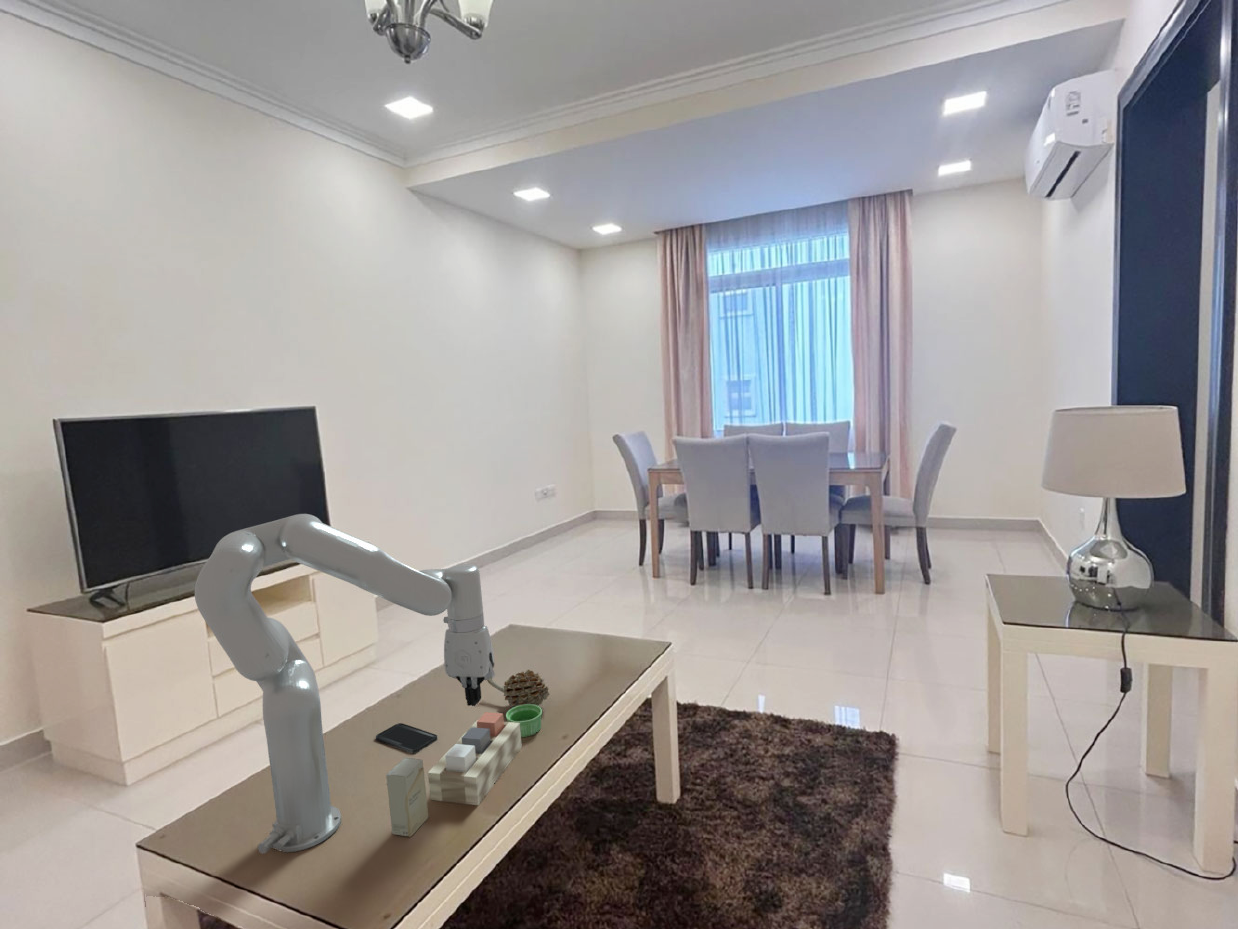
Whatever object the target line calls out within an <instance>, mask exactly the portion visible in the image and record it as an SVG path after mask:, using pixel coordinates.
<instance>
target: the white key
mask: <svg viewBox="0 0 1238 929" xmlns="http://www.w3.org/2000/svg"><path fill="white" fill-rule="evenodd" d="M454 744H455V743H454ZM454 744H453V745H454ZM453 745H452V746H453ZM452 746H451V747H452ZM448 751H449V750H448ZM448 751H447V752H448ZM447 752H446V753H447ZM446 753H445V754H446ZM445 754H444V755H445ZM445 761H446V771H455V772H464V773H467V772H468V771H469V769H470V768H471V767H472V766H473V765H474V763H475V762H476V754H475V746H473V745H462V744H455V745H454V746H453V747H452V749H451V750H450V751H449V752H448V753H447V754H446V755H445Z"/></svg>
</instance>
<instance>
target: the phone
mask: <svg viewBox="0 0 1238 929" xmlns="http://www.w3.org/2000/svg"><path fill="white" fill-rule="evenodd" d="M375 741H377V742H380V743H383V744H385V745H388V746H390V747H393V748H396V749H398V750H401V751H404V752H407V753H409V754H417V753H419V752H420V751H422V750H424V749H426V748H427V747H429V746H430V745H432V744H433V743H435V742H436V741H438V735H437V734H434V733H432V732H429V731H427V730H423V729H421V728H417V727H414V726H411V725H408V724H406V723H403V722H399V723H396V724H394V725H392V726H390V727H388V728H386V729H385V730H382V732H380V733H377V734H376V735H375Z"/></svg>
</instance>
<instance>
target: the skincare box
mask: <svg viewBox="0 0 1238 929" xmlns="http://www.w3.org/2000/svg"><path fill="white" fill-rule="evenodd" d="M385 778H386V786H387V794H388V805H389V814H390V824H391V825H390V826H391V834H392V835H398V836H403V837H412V836H413V835H414V834H415V833H416V832H417V831H418V830H419V828H420V827H422V826H423V824H424V823H425V822H426V821H427V820H428V818H429V808H428V799H427V798H428V797H427V789H426V780H425V768H424V760H423V759H420V758H412V757H404V758H402V760H401V761H400V762H398V763H397V764H396V765H395V766H394V767H393V768H392V769H391V770H389V771H388V772H387V773H386V774H385Z"/></svg>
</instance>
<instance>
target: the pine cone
mask: <svg viewBox="0 0 1238 929" xmlns="http://www.w3.org/2000/svg"><path fill="white" fill-rule="evenodd" d="M486 681H487V683H488V684H490V686H492V687H493V688H495V689H497V690H498V691H500V692H501V693H503V697H504V701H508V706H512V707H515V706H519V705H524V704H533V705H537V706H539V707H540V705H542V703H544V702H543V701H546V700H547V699H548V697H549V696H550V693H549V692H550V691H548V690H549V689H550V688H549V686H548V685H546V682H544V681H545V678H542V676H541V675H539V672H536V673H535V672H534V671H533V670H530V669H526V671H521V672H518V673H516V674H515V675H514V674H512V675H511V676H510V677H508V679H507V680H505V681H504V683H503V684H504V685H503V686H501V685H500V684H499V683H497V682H496V681H495V680H494V679H493V678H492V679H489V680H486Z"/></svg>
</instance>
